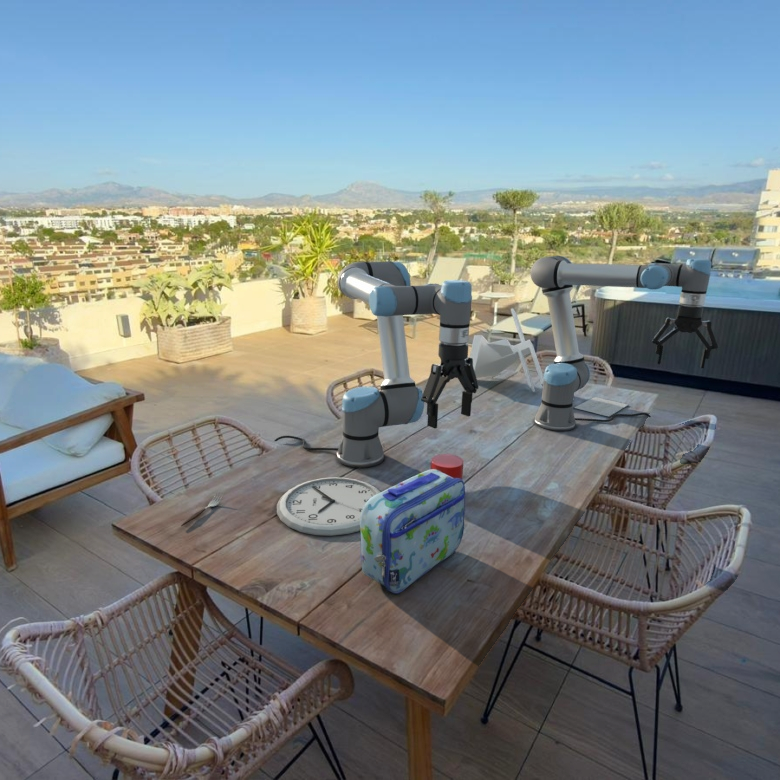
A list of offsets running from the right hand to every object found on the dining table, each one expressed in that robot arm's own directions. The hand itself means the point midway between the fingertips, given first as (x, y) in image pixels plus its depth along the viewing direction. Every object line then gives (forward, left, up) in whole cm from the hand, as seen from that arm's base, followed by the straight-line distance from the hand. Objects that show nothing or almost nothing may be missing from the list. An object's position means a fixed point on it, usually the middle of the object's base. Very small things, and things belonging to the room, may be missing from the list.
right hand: (679, 365), depth 185 cm
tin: (+81, +59, -28) cm, 104 cm away
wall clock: (+111, +66, -28) cm, 132 cm away
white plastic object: (+57, -57, -28) cm, 85 cm away
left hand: (+81, +59, -4) cm, 100 cm away
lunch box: (+87, +90, -28) cm, 129 cm away
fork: (+144, +75, -28) cm, 165 cm away
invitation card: (+15, -33, -28) cm, 45 cm away
